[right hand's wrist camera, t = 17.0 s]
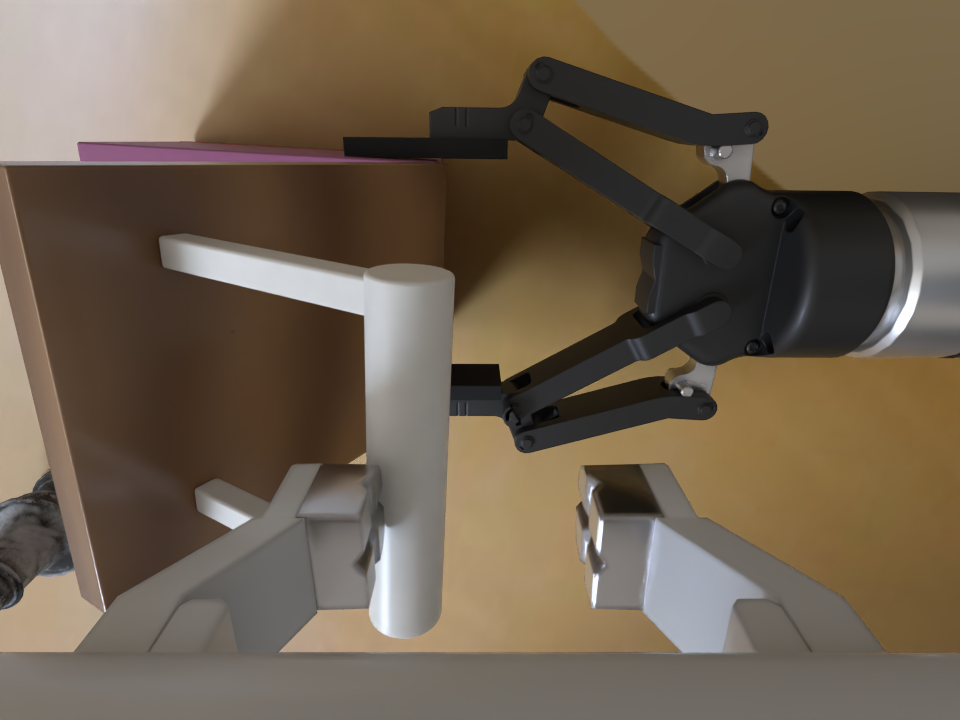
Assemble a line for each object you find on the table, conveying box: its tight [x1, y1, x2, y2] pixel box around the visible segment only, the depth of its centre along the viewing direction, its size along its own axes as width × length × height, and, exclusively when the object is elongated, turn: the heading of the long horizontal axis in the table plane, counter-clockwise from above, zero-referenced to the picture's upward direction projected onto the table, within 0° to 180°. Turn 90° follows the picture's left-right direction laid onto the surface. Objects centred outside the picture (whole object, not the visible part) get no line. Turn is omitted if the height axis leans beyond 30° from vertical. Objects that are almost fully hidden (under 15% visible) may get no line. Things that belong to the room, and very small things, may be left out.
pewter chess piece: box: [0, 472, 75, 610], centre depth 33 cm, size 6×6×12 cm
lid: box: [0, 161, 455, 639], centre depth 16 cm, size 14×10×8 cm
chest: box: [77, 142, 442, 164], centre depth 28 cm, size 13×10×10 cm
